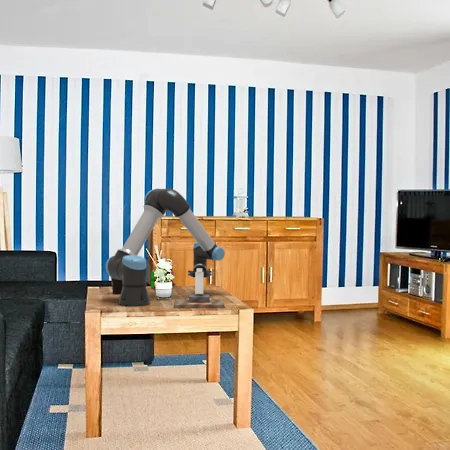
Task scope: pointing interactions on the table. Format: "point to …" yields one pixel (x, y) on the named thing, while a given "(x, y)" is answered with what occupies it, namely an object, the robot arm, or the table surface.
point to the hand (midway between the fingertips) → (199, 276)
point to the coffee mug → (117, 286)
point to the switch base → (214, 303)
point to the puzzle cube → (155, 279)
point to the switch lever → (199, 282)
